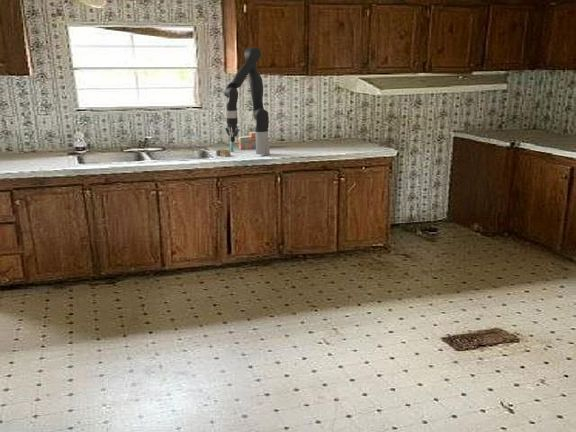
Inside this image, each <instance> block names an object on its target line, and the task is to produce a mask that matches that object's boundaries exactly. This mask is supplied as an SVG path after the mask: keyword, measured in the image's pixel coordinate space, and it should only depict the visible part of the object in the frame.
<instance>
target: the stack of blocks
mask: <svg viewBox="0 0 576 432" xmlns="http://www.w3.org/2000/svg"><path fill="white" fill-rule="evenodd" d="M238 148H239V149H240V150H253V149H252V148H254V149H256V138H255V131H249V135H246V136H238Z"/></svg>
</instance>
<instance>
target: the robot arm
mask: <svg viewBox="0 0 576 432" xmlns="http://www.w3.org/2000/svg"><path fill="white" fill-rule="evenodd" d="M261 57H262V51H261V49H260V48H258V47H255V46H253V47H248V48H246V49H245V51H244V59H245V60H244V61H245V62H244V64H243V65H242V67H240V69H239V70H238V71H236V73H235V75H234V76H233V79H232V80H231V81H230V82H229V83H228V85H227V86H226V87H225V88H224V91H223V95H224V97H225V98H227V99H228V101H227V102H226V106H225V107H226V116H225V117H226V124H227V127H225V128H224V130H225V132H226V134H227V135H228V136H229V137H230V141H231V142H233V143H234V142H235V141H236V137H237V136H238V135H239V132H240V131H241V130H240V128H238V121H239V120H238V111H237V110H238V109H237V108H238V107H237V105H238V99H239V91H238V88H240V87H241V86H243V84H244V81H245V79H246V78H247V76H248V82H249V89H250V95H251V100H252V111H253V112H252V116H253V118H254V119H255V121H256V123H255V124H256V126H255V127H254V130H255V131H254V132H255V138H256V148H255V154H256V155H260V157H264V156H268V155H270V154H271V153H270V152H271V151H270V141H269V124H270V123H269V122H270V121H269V120H270V119H269V118H270V116H269V112H268V111H267V110H266V109H264V103H263V99H264V98H263V96H264V84H263V79H262V76H261V74H260V72H259V70H258V67H257V63H258V62H259V61H260V59H261Z"/></svg>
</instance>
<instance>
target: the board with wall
mask: <svg viewBox="0 0 576 432" xmlns="http://www.w3.org/2000/svg"><path fill="white" fill-rule="evenodd" d="M220 150H225V149H224V148H222V149H221V148H220V149H217V150H215V155H216V157H219V156H220Z"/></svg>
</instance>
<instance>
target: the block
mask: <svg viewBox="0 0 576 432" xmlns="http://www.w3.org/2000/svg"><path fill="white" fill-rule="evenodd" d="M219 150H220V155H219V156H220V157H224V158H225V157H230V156H231V150H230V149H226V148H225V149H224V150H221V149H219Z"/></svg>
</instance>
